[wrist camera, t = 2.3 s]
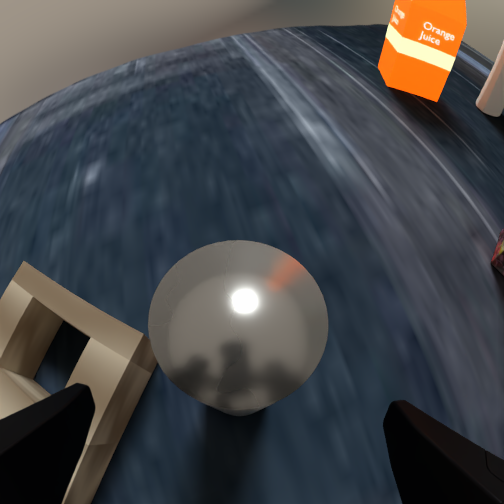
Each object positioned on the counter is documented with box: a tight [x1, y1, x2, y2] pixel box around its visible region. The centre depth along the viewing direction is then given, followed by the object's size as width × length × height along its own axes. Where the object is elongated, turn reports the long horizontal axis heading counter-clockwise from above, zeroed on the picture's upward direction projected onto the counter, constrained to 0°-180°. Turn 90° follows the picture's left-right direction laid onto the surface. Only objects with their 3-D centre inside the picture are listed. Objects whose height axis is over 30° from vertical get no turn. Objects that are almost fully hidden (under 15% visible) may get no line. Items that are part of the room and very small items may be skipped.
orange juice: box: [378, 0, 467, 102], centre depth 30 cm, size 8×9×20 cm
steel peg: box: [148, 240, 328, 416], centre depth 11 cm, size 4×4×12 cm
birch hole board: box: [0, 261, 158, 504], centre depth 12 cm, size 18×10×4 cm, turn 158°
